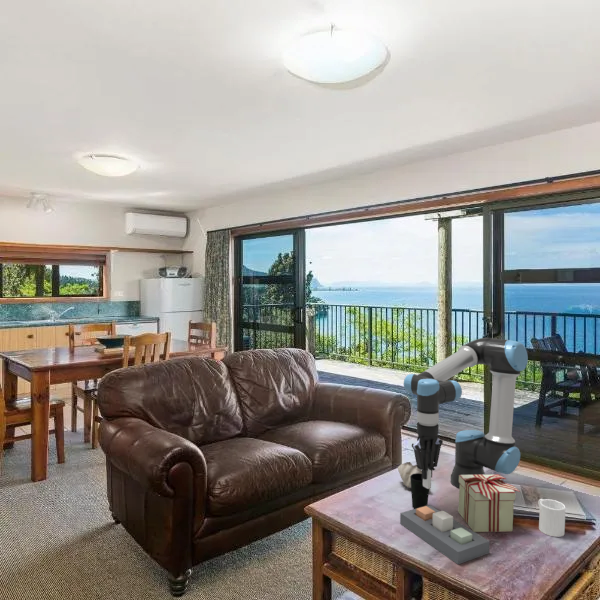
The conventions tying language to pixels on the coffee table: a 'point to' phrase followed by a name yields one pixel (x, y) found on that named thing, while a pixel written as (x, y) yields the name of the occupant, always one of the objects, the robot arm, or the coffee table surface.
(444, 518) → the ivory key
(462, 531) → the sage key
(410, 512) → the key panel
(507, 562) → the coffee table surface
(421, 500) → the cup
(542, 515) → the mug
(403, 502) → the coffee table surface
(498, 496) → the gift box
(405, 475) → the seashell
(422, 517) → the peach cube
